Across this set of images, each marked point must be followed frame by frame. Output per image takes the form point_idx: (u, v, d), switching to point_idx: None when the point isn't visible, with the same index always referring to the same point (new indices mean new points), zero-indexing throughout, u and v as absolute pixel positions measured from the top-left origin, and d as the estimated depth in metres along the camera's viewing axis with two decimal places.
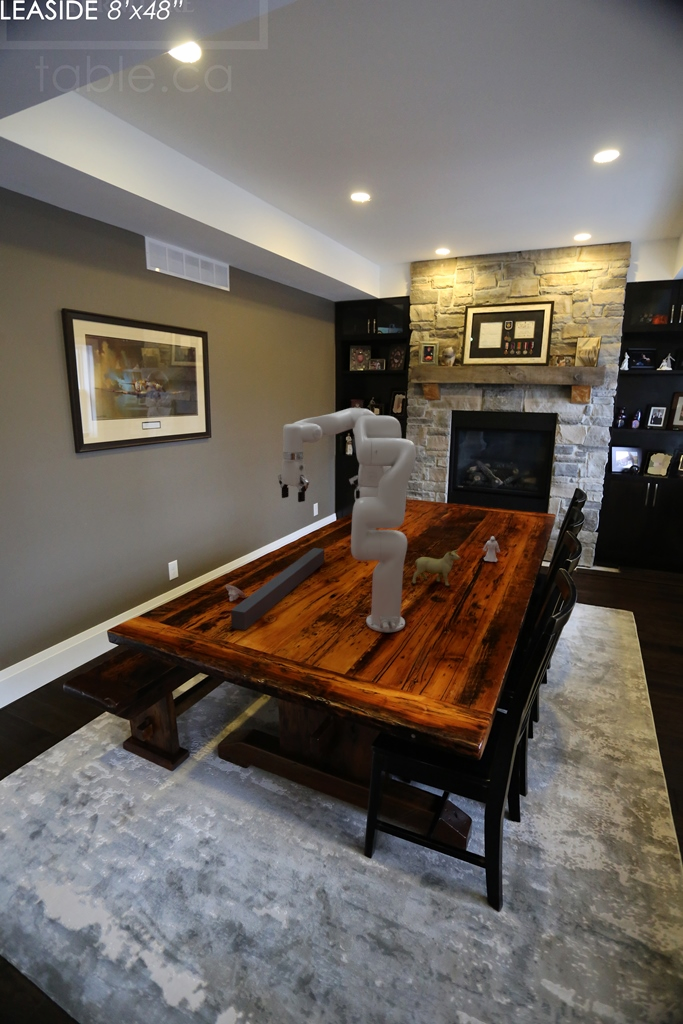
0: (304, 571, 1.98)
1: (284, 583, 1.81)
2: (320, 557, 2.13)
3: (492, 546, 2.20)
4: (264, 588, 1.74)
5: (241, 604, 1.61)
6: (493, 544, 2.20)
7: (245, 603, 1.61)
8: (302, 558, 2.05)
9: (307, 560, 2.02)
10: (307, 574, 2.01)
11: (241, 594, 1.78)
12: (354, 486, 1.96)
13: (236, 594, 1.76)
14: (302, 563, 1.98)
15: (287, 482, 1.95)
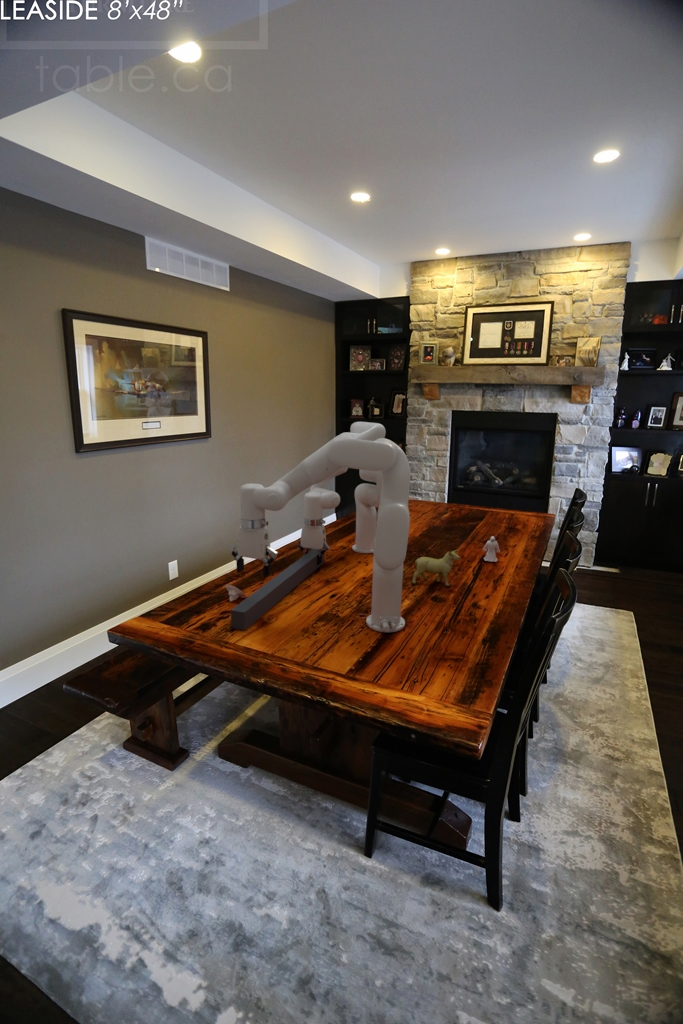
0: (304, 571, 1.98)
1: (284, 583, 1.81)
2: None
3: (492, 546, 2.20)
4: (264, 588, 1.74)
5: (241, 604, 1.61)
6: (493, 544, 2.20)
7: (245, 603, 1.61)
8: (302, 558, 2.05)
9: (307, 560, 2.02)
10: (307, 574, 2.01)
11: (241, 594, 1.78)
12: None
13: (236, 594, 1.76)
14: (302, 563, 1.98)
15: (309, 546, 2.09)
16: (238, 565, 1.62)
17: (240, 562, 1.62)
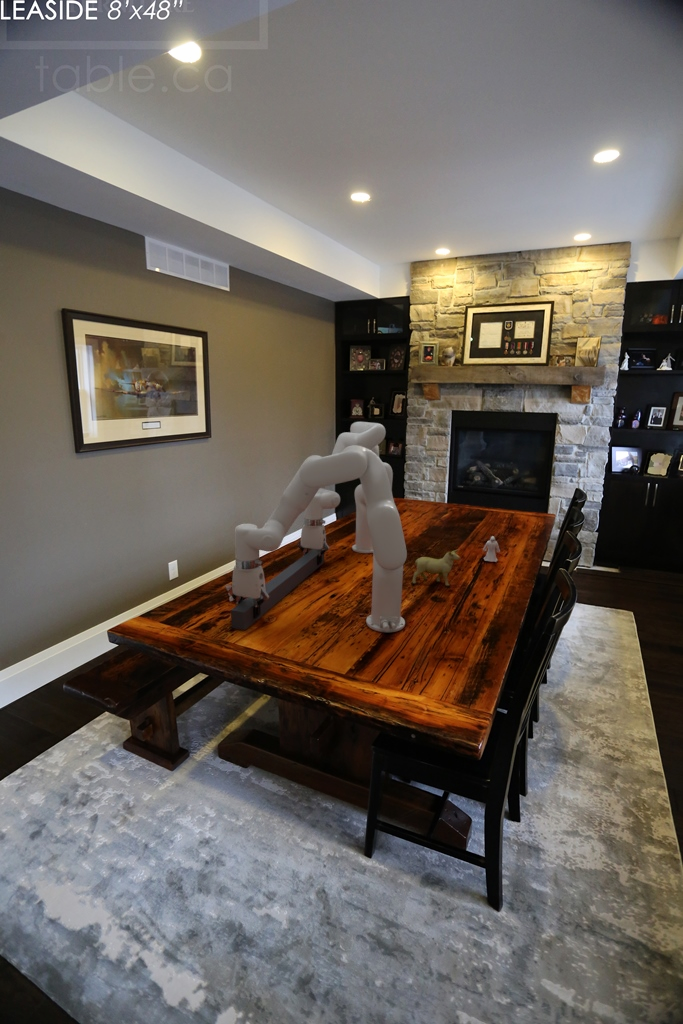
0: (304, 571, 1.98)
1: (284, 583, 1.81)
2: None
3: (492, 546, 2.20)
4: None
5: (241, 604, 1.61)
6: (493, 544, 2.20)
7: (245, 603, 1.61)
8: (302, 558, 2.05)
9: (307, 560, 2.02)
10: (307, 574, 2.01)
11: None
12: None
13: None
14: (302, 563, 1.98)
15: (309, 546, 2.09)
16: None
17: None
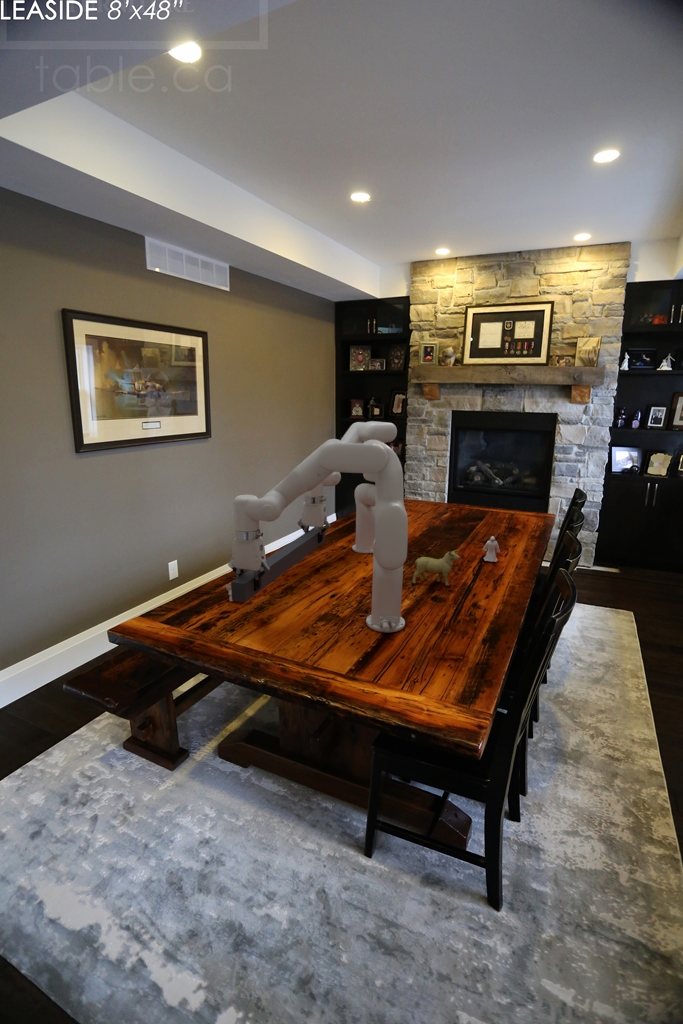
0: (305, 548, 1.96)
1: (285, 558, 1.79)
2: None
3: (492, 546, 2.20)
4: None
5: (241, 576, 1.59)
6: (493, 544, 2.20)
7: (246, 576, 1.59)
8: (302, 536, 2.02)
9: (308, 537, 2.00)
10: (308, 551, 1.99)
11: None
12: None
13: None
14: (303, 540, 1.96)
15: (309, 524, 2.07)
16: None
17: None
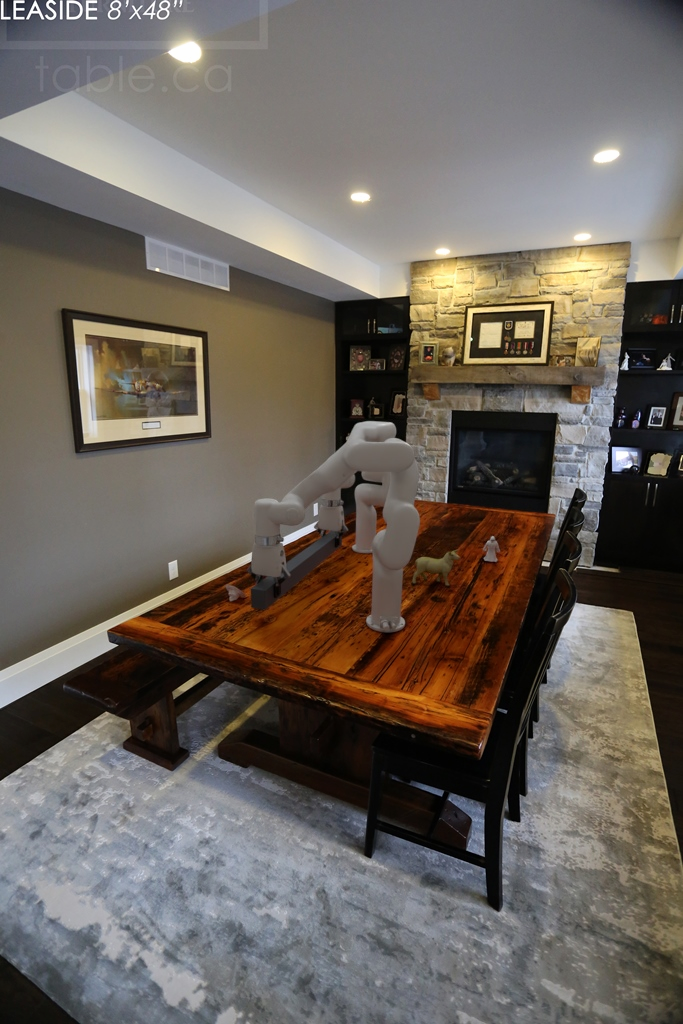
0: (323, 553, 1.91)
1: (303, 563, 1.74)
2: None
3: (492, 546, 2.20)
4: None
5: (261, 583, 1.53)
6: (493, 544, 2.20)
7: (265, 582, 1.54)
8: (319, 540, 1.97)
9: (325, 542, 1.95)
10: (325, 556, 1.94)
11: (241, 594, 1.78)
12: None
13: (236, 594, 1.76)
14: (320, 545, 1.91)
15: (326, 528, 2.01)
16: None
17: None
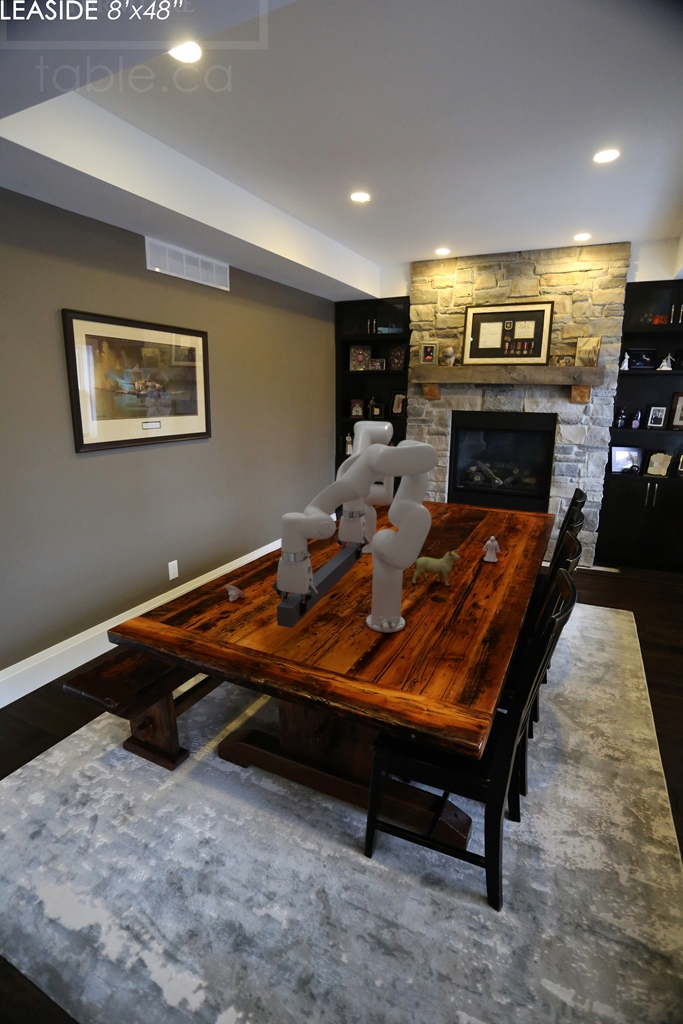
0: (345, 566, 1.85)
1: (327, 578, 1.68)
2: None
3: (492, 546, 2.20)
4: None
5: (287, 600, 1.48)
6: (493, 544, 2.20)
7: (291, 599, 1.48)
8: (341, 552, 1.92)
9: (347, 554, 1.90)
10: (347, 569, 1.88)
11: (241, 594, 1.78)
12: None
13: (236, 594, 1.76)
14: (342, 558, 1.85)
15: (347, 539, 1.96)
16: None
17: None
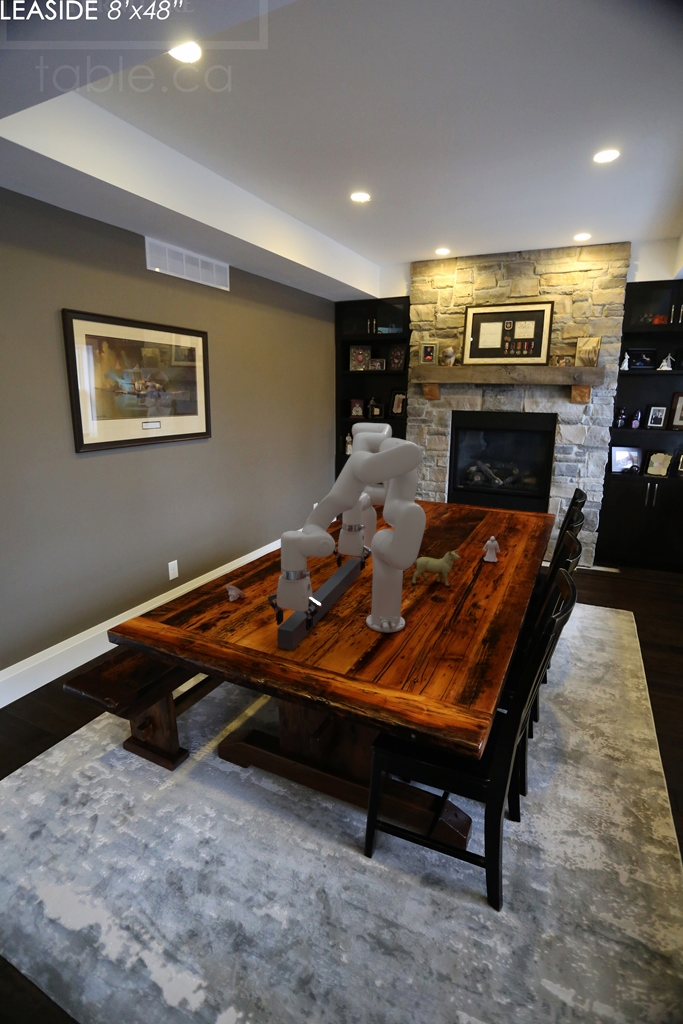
0: (344, 583, 1.87)
1: (327, 597, 1.70)
2: (358, 567, 2.02)
3: (492, 546, 2.20)
4: None
5: (287, 621, 1.49)
6: (493, 544, 2.20)
7: (291, 621, 1.50)
8: (341, 569, 1.93)
9: (347, 571, 1.91)
10: (347, 586, 1.90)
11: (241, 594, 1.78)
12: None
13: (236, 594, 1.76)
14: (342, 575, 1.87)
15: (347, 552, 1.97)
16: (278, 617, 1.51)
17: (280, 614, 1.51)
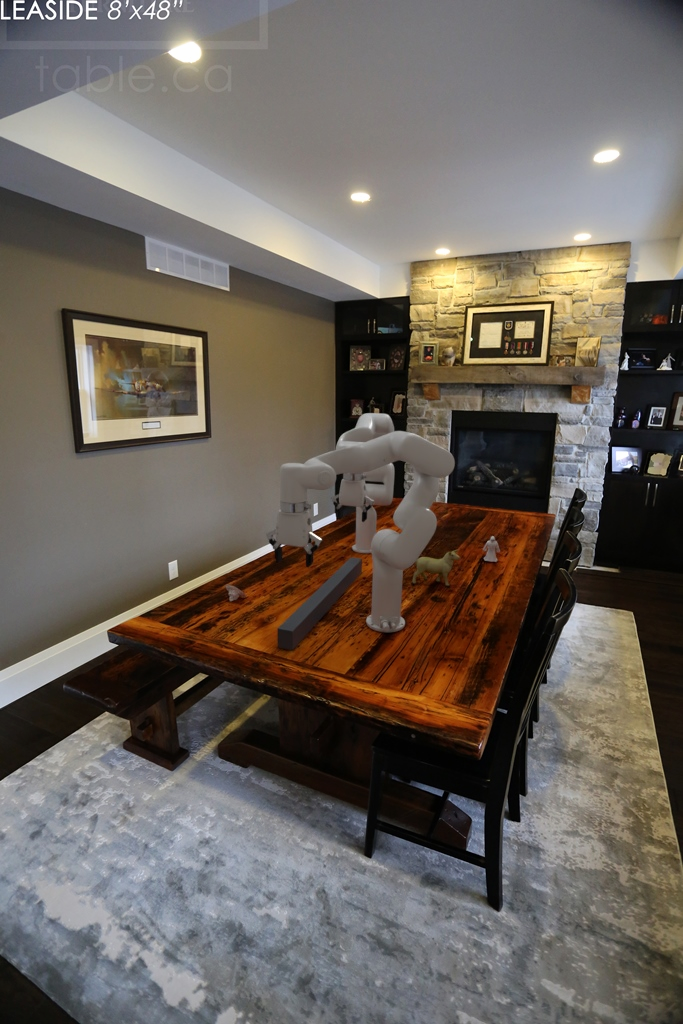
0: (344, 583, 1.87)
1: (327, 597, 1.70)
2: (358, 567, 2.02)
3: (492, 546, 2.20)
4: (308, 603, 1.62)
5: (287, 621, 1.49)
6: (493, 544, 2.20)
7: (291, 621, 1.50)
8: (341, 569, 1.93)
9: (347, 571, 1.91)
10: (347, 586, 1.90)
11: (241, 594, 1.78)
12: None
13: (236, 594, 1.76)
14: (342, 575, 1.87)
15: (348, 503, 1.92)
16: (277, 554, 1.46)
17: (279, 551, 1.46)
